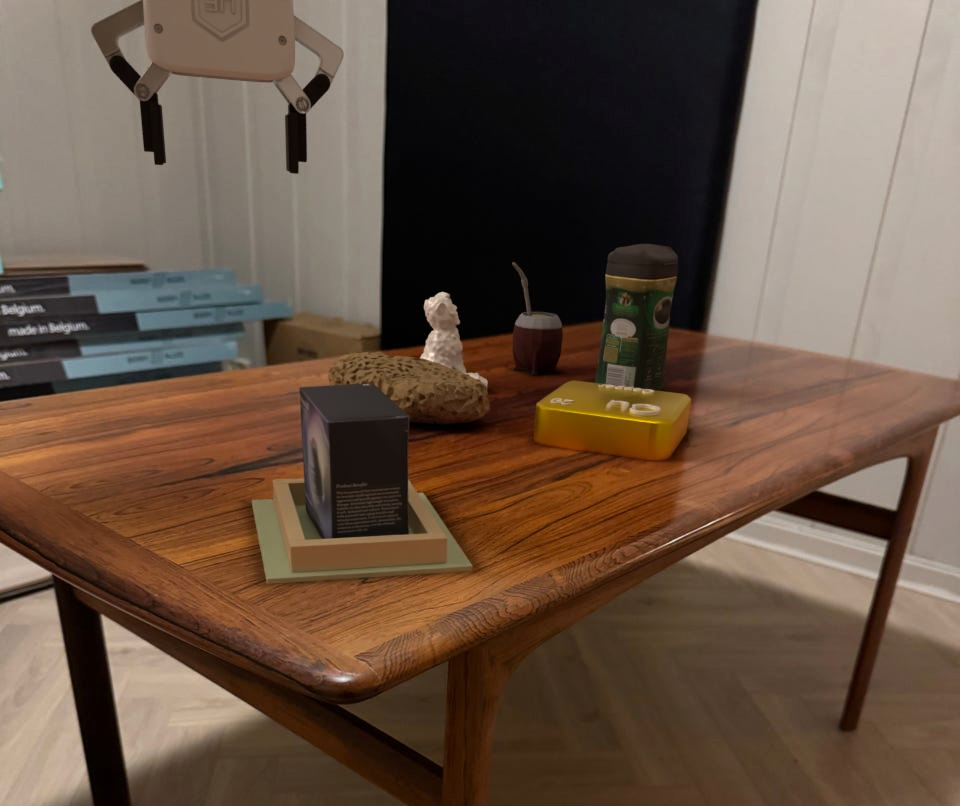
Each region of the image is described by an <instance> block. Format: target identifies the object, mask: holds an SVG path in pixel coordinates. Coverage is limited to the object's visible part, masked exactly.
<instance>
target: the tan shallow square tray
mask: <svg viewBox="0 0 960 806" xmlns="http://www.w3.org/2000/svg"><path fill="white" fill-rule="evenodd" d="M272 495H273V498H266V499H265V498H264V499H263V498H262V499H261V498H260V499H252V500H251V507H252V513H253V518H254V523H255V528H256V529H255V530H256V533H257V540H258V544H259V550H260V555H261V560H262V566H263V571H264V576H265V581H266V584H267V585H273V584H275V585H276V584H287V583H288V584H290V583H303V582H319V581H320V582H321V581H334V580H351V579H353V580H354V579H363V578H364V579H367V578H382V577H397V576H411V575H430V574H443V573H445V574H446V573H458V572H473V569H474V566H473V564H472V563H471V562H470V560H469V558H468V557H467V555H466V554H465V552H464V551H463V549H462V548H461V547H460V545H459V543H458V542H457V541H456V539H455V538H454V536H453V534H452V533H451V532H450V530H449V529H448V527H447V525H446V524H445V522H444V521H443V520H442V518H441V517H440V515H439V514H438V512H437V510H436V509H435V508H434V506H433V504H432V503H431V502H430V500H429V499H428V498H427V496H426V494H425V493H424V492H418V491H417V489H416V488H415V487H414V486H413V484H412V482H411V480H410V479H409V478H408V510H409V513H408V516H409V518H408V520H409V534H407V535H388V536H369V537H351V538H332V539H322V537H321V535H320V534H319V532H318V530H317V528H316V527H315V525H314V523H313V521H312V520H311V518H310V516H309V514H308V513H307V511H306V502H305V486H304V477H301V478H300V477H299V478H273V479H272Z"/></svg>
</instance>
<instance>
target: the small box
mask: <svg viewBox="0 0 960 806" xmlns="http://www.w3.org/2000/svg"><path fill="white" fill-rule="evenodd" d="M298 391H299V405H300V406H299V407H300V427H301V444H302V447H301V448H302V463H303V464H302V465H303V478H304V486H305V502H306V511H307V513H308V514H309V516H310V518H311V520H312V521H313V523H314V525H315V527H316V528H317V530H318V532H319V534H320V535H321V537H322V539H332V538H351V537H369V536H388V535H407V534H409V520H408V518H409V516H408V513H409V510H408V479H409V437H410V423H411V422H410V417H409V415H408V414H407V413H406V412H404V411H403V410H402V409H401V408H400V407H399V406H398V405H396V404H395V403H394V402H393V401H392V400H391V399H390V398H389V397H388V396H386V395H385V394H384V393H383V392H382V391H381V390H380V389H379V388H378V387H377V386H375V385H374V384H373V383H363V384H346V385H330V384H329V385H319V386H300V387H299V388H298Z"/></svg>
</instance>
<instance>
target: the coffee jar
mask: <svg viewBox="0 0 960 806" xmlns="http://www.w3.org/2000/svg"><path fill="white" fill-rule="evenodd" d="M678 264H679V256H678V255H677V253H676V252H675V251H674V250H673V248H672V247H671V246H665V245H660V244H652V243H639V244H631V245H627V246H620V247H616V248H615V249H614V250H613V251H611V252H609V254H608V255H607V264H606V270H605V277H604V278H605V279H604V280H605V307H604V315H603V322H602V323H603V324H602V331H601V339H600V345H599V351H598V352H599V353H598V359H597V366H596V372H595V380H594V381H595V382H594V383H599V384H610V385H615V386H623V385H624V387H634V388H641V389H651V390H656V391H663V389H664V385H665V375H666V366H667V365H666V363H667V362H666V361H667V351H668V340H669V329H670V321H671V320H670V319H671V310H672V303H673V297H674V291H675V287H676V283H677V279H678V277H677V276H678V270H679V269H678V267H679V265H678Z"/></svg>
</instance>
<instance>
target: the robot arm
mask: <svg viewBox="0 0 960 806" xmlns="http://www.w3.org/2000/svg"><path fill="white" fill-rule="evenodd" d="M143 26H144V28H143V29H144V37H145V47H146V51H147V56H148V58H149V60H150V61H151V62H150V64H149V65H148V67H147V68H146V69H145V71H144V72H143V74H142V75H140V74H139V73H138V71H137V70H136V69H135V68H134V67H133V66H132V65H131V63H129V62H128V61H127V58H126V57H125V55H124V52H123V51H122V49H121V47H120V45H119V40H120V38H121V37H123V36H125V35H127V34H130V33H131V32H134V31H135V30H138V29H139V28H141V27H143ZM90 33H91V35H92V38H93V39H94V41H95V42H96V44H97V46H98V49H99V50H100V52H101V54H102V56H103V57H104V59H105V61H106V63H107V65H108V67H109V68H110V70H111V71H112V73H113V74H114V75H115V76H116V77H117V78H118V79H119V80H120V81H121V82H122V83H123V84H124V86H125V87H126V88H127V89H128V90H129V91H130V92H131V93H132V94H133V95H134V96H135V97H136V99H138V101H139V110H140V120H141V122H140V123H141V130H142V131H141V132H142V134H141V135H142V144H143V151H144V153H153V161H154V162H153V163H154V165H155V166H164V164H166V163H167V156H166V154H167V153H166V141H165V130H164V129H165V128H164V113H163V105H162V104H160V103H159V94H158V93H159V91H160V89H162V87H163V86H164V85H165V83H166V81H168V79H169V77H170V76H171V75H177V76H181V77H182V76H183V77H192V78H203V79H204V78H205V79H216V80H217V79H218V80H227V81H240V82H251V83H272V84H273V85H274V86H275V87H276V89H277V90H278V92H279V93H280V94H281V96H282V97H283V98H284V100H285V101H286V103H287V104H288V105H287V113H286V114H285V115H284V127H285V128H284V133H285V134H284V137H285V169H286V171H287V172H288V173H290V174H293V175H294V174H295V175H298V174H299V169H300V167H299V165H300V164H299V163H307V162H308V138H307V137H308V135H307V132H308V131H307V130H308V129H307V113H309V112H310V111H311V109H312V108H313V107H314V106H315V105H316V104H317V103H318V102H319V100H320V99H322V97H324V95H325V94H326V93H327V92H328V91H329V90H330V88H331V85H332V83H333V82H334V78H335V77H336V75H337V72H338V70H339V68H340V66H341V64H342V62H343V59H344V56H345V54H344V53H345V52H344V51H343V49H342V47H341V46H339V45H337V44H336V43H334V42H333V41H332V40H330V39H329V38H327V37H326V36H325V35H323V34H322V33H320V32H319V31H318V30H316V29H314V28H313V27H312V26H310V25H309V24H307V23H306V22H305V21H303V20H302V19H300V18H299V17H297V16H296V15H295V13H294V0H138V1H136V2H134V3H132V4H130V5H128V6H126V7H124V8H122V9H121V10H118V11H116V12H115V13H113V14H110V15H108V16H107V17H105V18H102V19H100V20H99V21H96V22H95V23H93V24H92V25H91V27H90ZM296 42H297V43H299V45H301V46H303V47H304V48H306V49H307V50H309V51H310V52H311V53H313V54H314V55H316V57H317V58H318V60H319V65H318V67H317V70H316V72H315V74H314V75H313V77H312V78H311V80H310V81H308V83H307V84H306V85H305V86H304V87H303V88H302V87H301V86H300V85H299V82H297V80H296V79H295V78H294V76H293V75H292V73H293V72H294V69H295V65H296Z"/></svg>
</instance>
